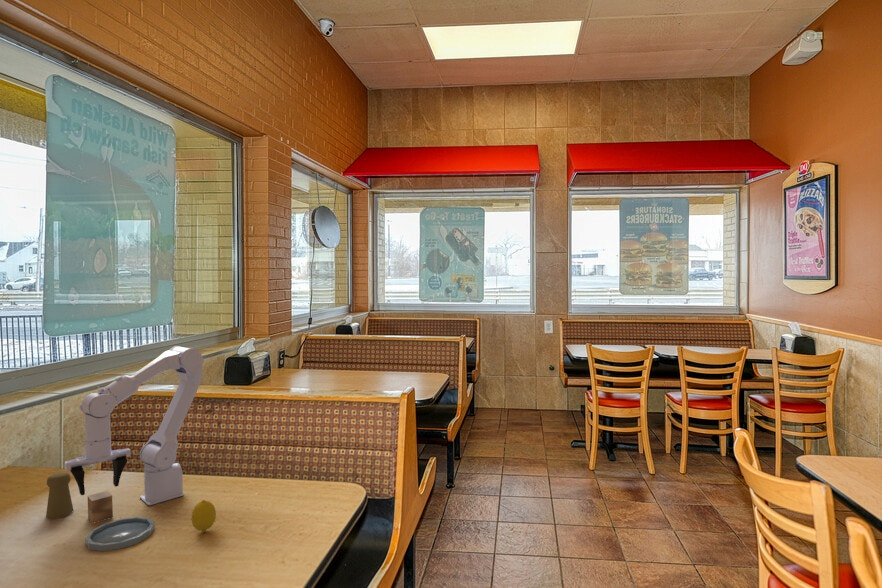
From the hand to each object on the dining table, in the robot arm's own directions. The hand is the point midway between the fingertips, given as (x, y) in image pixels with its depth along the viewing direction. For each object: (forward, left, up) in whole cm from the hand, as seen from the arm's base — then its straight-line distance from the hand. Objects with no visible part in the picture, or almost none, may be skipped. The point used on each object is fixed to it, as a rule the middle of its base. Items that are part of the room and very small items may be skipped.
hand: (99, 489), depth 137 cm
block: (0, 0, -8) cm, 8 cm away
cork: (+7, -11, -8) cm, 15 cm away
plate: (-1, +15, -8) cm, 17 cm away
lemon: (-16, +28, -8) cm, 33 cm away
